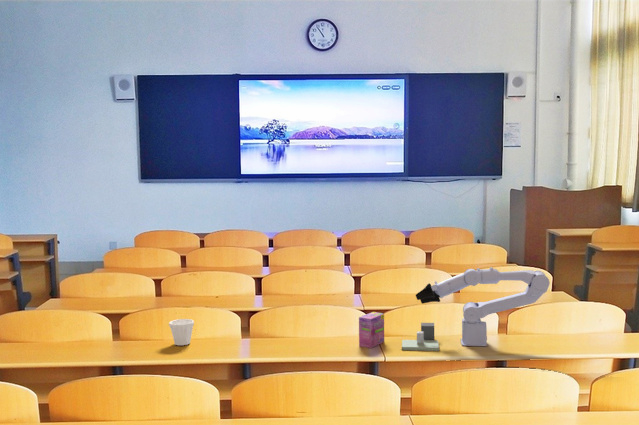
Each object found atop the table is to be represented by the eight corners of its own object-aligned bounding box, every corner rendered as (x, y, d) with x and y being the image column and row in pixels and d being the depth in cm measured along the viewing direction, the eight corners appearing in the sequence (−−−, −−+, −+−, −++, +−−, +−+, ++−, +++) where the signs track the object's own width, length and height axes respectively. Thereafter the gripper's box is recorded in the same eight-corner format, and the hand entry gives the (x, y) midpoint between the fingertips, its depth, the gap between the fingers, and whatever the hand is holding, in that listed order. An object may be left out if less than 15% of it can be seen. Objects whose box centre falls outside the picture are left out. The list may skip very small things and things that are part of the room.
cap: (434, 338, 255) (434, 322, 255) (434, 342, 250) (434, 326, 250) (421, 338, 256) (421, 322, 255) (421, 342, 251) (421, 325, 250)
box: (371, 348, 244) (370, 318, 243) (358, 346, 247) (358, 316, 246) (385, 342, 252) (384, 313, 251) (372, 340, 255) (372, 311, 255)
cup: (197, 340, 260) (197, 318, 260) (190, 347, 250) (189, 325, 250) (174, 340, 261) (173, 318, 261) (166, 347, 251) (165, 324, 251)
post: (423, 342, 246) (423, 331, 245) (423, 344, 243) (423, 333, 243) (416, 342, 246) (416, 331, 246) (416, 344, 243) (416, 333, 243)
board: (438, 343, 248) (438, 340, 248) (438, 350, 239) (438, 347, 238) (402, 342, 251) (402, 339, 251) (401, 350, 241) (401, 346, 241)
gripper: (449, 281, 255) (419, 293, 258) (442, 272, 243) (410, 286, 246) (456, 296, 252) (425, 309, 255) (449, 289, 240) (417, 302, 243)
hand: (418, 299), depth 250 cm, fingers open, 7 cm apart
